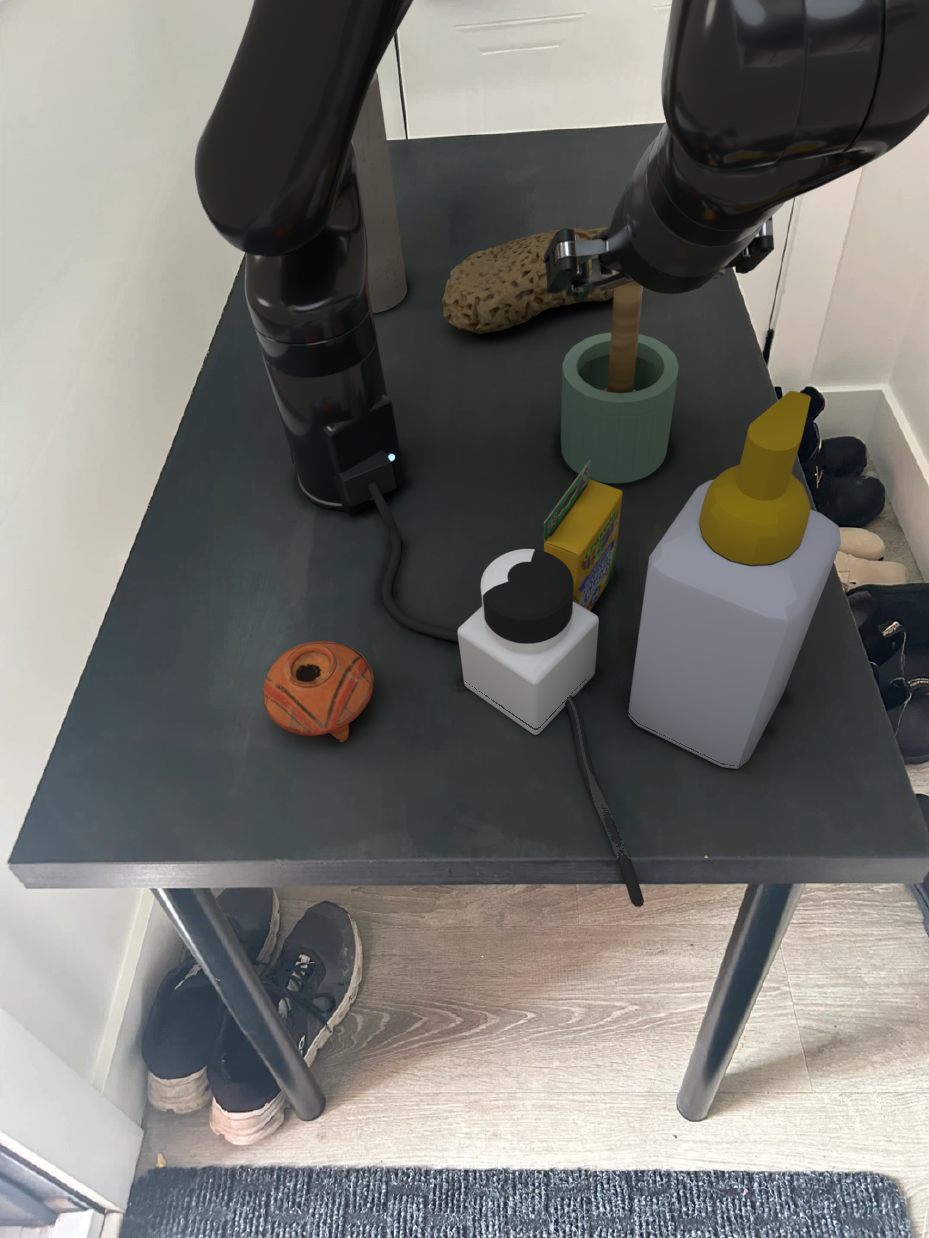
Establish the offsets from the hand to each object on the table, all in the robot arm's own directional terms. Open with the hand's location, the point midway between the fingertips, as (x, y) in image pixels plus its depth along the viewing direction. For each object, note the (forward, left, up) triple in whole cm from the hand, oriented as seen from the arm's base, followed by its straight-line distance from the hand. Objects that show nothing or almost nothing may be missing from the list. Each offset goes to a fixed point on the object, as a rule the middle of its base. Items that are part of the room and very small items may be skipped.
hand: (634, 281), depth 66 cm
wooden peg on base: (+2, -1, -18) cm, 18 cm away
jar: (+2, -1, -18) cm, 18 cm away
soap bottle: (-22, +14, -18) cm, 32 cm away
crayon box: (-9, +14, -18) cm, 25 cm away
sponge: (+24, -11, -18) cm, 32 cm away
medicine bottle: (-12, +22, -18) cm, 31 cm away
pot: (-4, +35, -18) cm, 39 cm away
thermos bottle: (+39, 0, -18) cm, 43 cm away
